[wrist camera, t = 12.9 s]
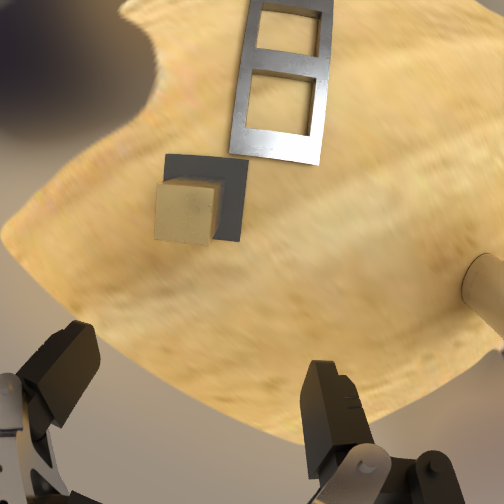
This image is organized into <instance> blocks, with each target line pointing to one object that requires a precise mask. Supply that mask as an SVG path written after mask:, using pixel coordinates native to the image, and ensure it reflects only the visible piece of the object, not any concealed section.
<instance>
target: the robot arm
mask: <svg viewBox="0 0 504 504" xmlns="http://www.w3.org/2000/svg"><path fill="white" fill-rule="evenodd" d="M462 298H463V301H464V302H465V303H466V304H467V305H468V306H469V307H470V308H471V309H472V310H473V311H474V312H476V313H477V314H478V315H479V316H480V317H481V318H482V319H483V320H484V321H485V322H486V323H487V324H488V325H489V326H490V327H491V328H493V329H494V330H495V331H496V332H497V333H498V334H499V335H500V336H501V337H502V338H503V339H504V261H502V260H500V259H499V258H497V257H495V256H493V255H492V254H488V253H487V254H483V255H481V256H480V257H478V258H477V259H476V260H475V261H474V262H473V263H472V265H471V266H470V268H469V270H468V271H467V273H466V276H465V278H464V281H463V285H462ZM99 366H100V353H99V349H98V344H97V340H96V335H95V330H94V327H93V326H92V325H91V324H88V323H84V322H81V321H77V320H74V321H72V322H71V323H70V324H69V325H68V326H67V327H66V328H65V329H64V330H63V329H62V330H60V331H58V332H56V333H54V334H52V335H51V336H50V337H49V338H48V339H47V340H46V341H45V342H44V345H42V346H41V347H40V348H39V349H38V351H36V352H35V353H34V354H33V355H32V356H31V358H30V359H29V360H28V361H27V362H26V363H25V364H24V365H23V366H22V367H21V369H20V370H19V371H18V372H17V373H16V374H13V373H3V374H0V504H102V503H99V502H97V501H95V500H92V499H90V498H88V497H85V496H83V495H81V494H79V493H77V492H74V491H73V490H72V491H71V494H69V492H68V489H67V487H66V485H65V483H64V482H63V480H62V479H61V477H60V474H59V472H58V468H57V464H56V460H55V455H54V451H53V446H52V441H51V435H50V431H49V429H48V427H49V426H50V424H53V425H55V426H57V427H59V428H62V427H63V425H64V423H65V422H66V420H67V418H68V417H69V415H70V413H71V412H72V410H73V409H74V407H75V405H76V404H77V402H78V400H79V399H80V397H81V396H82V394H83V392H84V390H85V389H86V388H87V386H88V385H89V383H90V381H91V380H92V378H93V377H94V375H95V374H96V372H97V371H98V369H99ZM300 409H301V417H302V425H303V433H304V442H305V449H306V459H307V468H308V477H309V479H319V482H320V488H319V489H318V490H317V492H316V493H315V494H314V495H313V496H312V498H311V499H310V500H309V501H308V503H307V504H465V501H464V498H463V495H462V492H461V489H460V486H459V483H458V480H457V477H456V474H455V472H454V469H453V466H452V463H451V461H450V459H449V458H448V457H447V456H446V455H445V454H443V453H442V452H439V451H433V450H431V451H427V452H425V453H423V454H422V455H421V456H419V457H418V458H417V459H416V460H415V459H403V458H394V457H391V456H389V454H388V453H387V452H386V451H385V450H384V449H383V448H382V447H380V446H378V445H375V443H374V440H373V437H372V434H371V431H370V428H369V425H368V422H367V419H366V416H365V413H364V410H363V408H362V404H361V401H360V399H359V395H358V392H357V390H356V387H355V385H354V384H353V382H352V381H351V380H350V379H349V378H348V377H347V376H346V375H338V372H337V369H336V366H335V363H334V361H321V360H312V361H311V363H310V365H309V369H308V372H307V375H306V378H305V381H304V383H303V386H302V389H301V394H300Z"/></svg>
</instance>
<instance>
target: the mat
mask: <svg viewBox="0 0 504 504" xmlns="http://www.w3.org/2000/svg"><path fill="white" fill-rule="evenodd" d="M248 163H249V160H243V159H233V158H223V157H211V156H197V155H180V154H166V155H165V167H164V181H167V180H170V179H174V178H177V177H180V176H184V175H189V176H200V177H210V178H220V179H226V184H225V193H224V202H223V211H222V220H221V222H220V224H219V226H218V228H217V231H216V233H215V235H214V237H213V239H217V240H226V241H235V242H240V233H241V224H242V215H243V206H244V197H245V188H246V180H247V171H248ZM164 181H163V182H164Z"/></svg>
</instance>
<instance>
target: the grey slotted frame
mask: <svg viewBox="0 0 504 504" xmlns="http://www.w3.org/2000/svg"><path fill="white" fill-rule="evenodd" d="M333 4H334V0H251V2H250V7H249V13H248V19H247V25H246V31H245V38H244V44H243V50H242V57H241V64H240V70H239V77H238V85H237V92H236V99H235V107H234V115H233V123H232V131H231V139H230V148H229V153H230V154H240V155H249V156H258V157H266V158H274V159H281V160H288V161H295V162H301V163H307V164H313V165H319V158H320V151H321V143H322V135H323V127H324V119H325V110H326V100H327V91H328V80H329V69H330V56H331V42H332V26H333ZM262 10H267V11H275V12H283V13H289V14H296V15H301V16H307V17H312V18H317V19H318V30H317V43H316V54H315V57H312V56H307V55H302V54H296V53H290V52H284V51H277V50H269V49H260V48H256V46H257V39H258V32H259V25H260V19H261V12H262ZM252 74H259V75H267V76H275V77H282V78H289V79H295V80H300V81H306V82H311V83H313V85H312V94H311V103H310V112H309V121H308V129H307V136H302V135H296V134H289V133H283V132H276V131H268V130H260V129H251V128H246V120H247V112H248V104H249V97H250V89H251V82H252Z"/></svg>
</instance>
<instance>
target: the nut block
mask: <svg viewBox="0 0 504 504" xmlns="http://www.w3.org/2000/svg"><path fill="white" fill-rule="evenodd" d="M225 184H226V179H220V178H210V177H200V176H189V175H184V176H180V177H177V178H174V179H170V180H167V181H164V182H161V183H158V184H157V192H156V211H155V240H163V241H171V242H179V243H187V244H195V245H204V246H209V245H210V243H211V241H212V239H213V237H214V235H215V233H216V231H217V228H218V226H219V224H220V222H221V220H222V211H223V202H224V193H225Z"/></svg>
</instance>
